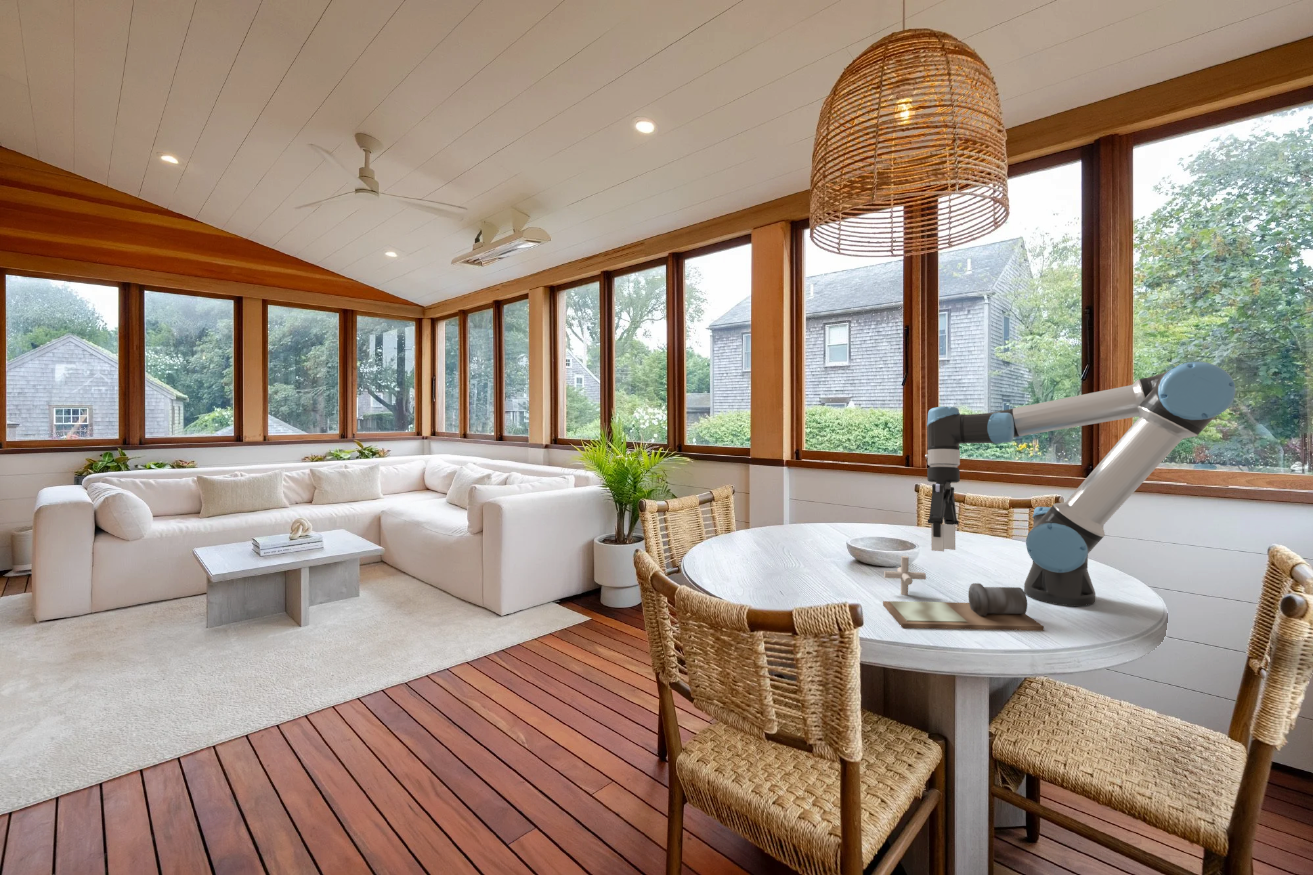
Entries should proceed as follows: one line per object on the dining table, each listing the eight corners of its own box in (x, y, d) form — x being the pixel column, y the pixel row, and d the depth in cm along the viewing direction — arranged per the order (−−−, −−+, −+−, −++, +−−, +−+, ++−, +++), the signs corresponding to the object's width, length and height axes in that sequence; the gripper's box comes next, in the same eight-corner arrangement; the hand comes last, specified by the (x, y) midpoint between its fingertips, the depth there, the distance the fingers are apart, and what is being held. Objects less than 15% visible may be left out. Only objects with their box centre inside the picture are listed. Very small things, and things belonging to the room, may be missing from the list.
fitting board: (1009, 607, 144) (1010, 576, 144) (1043, 630, 129) (1044, 595, 129) (883, 605, 147) (883, 574, 147) (902, 627, 132) (902, 593, 132)
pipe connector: (929, 601, 149) (930, 562, 149) (887, 599, 151) (888, 561, 151) (920, 589, 159) (920, 552, 159) (881, 587, 161) (881, 551, 161)
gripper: (938, 470, 165) (938, 547, 162) (915, 462, 145) (915, 550, 143) (968, 470, 160) (969, 549, 158) (949, 462, 141) (949, 552, 138)
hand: (943, 550), depth 150 cm, fingers open, 13 cm apart
